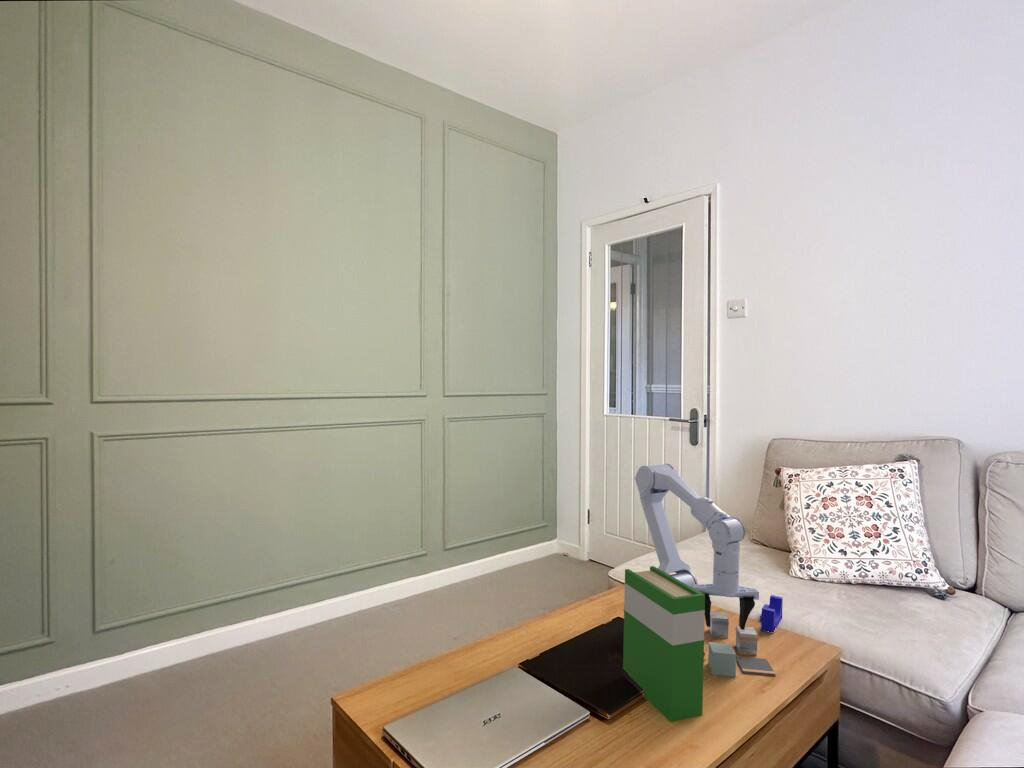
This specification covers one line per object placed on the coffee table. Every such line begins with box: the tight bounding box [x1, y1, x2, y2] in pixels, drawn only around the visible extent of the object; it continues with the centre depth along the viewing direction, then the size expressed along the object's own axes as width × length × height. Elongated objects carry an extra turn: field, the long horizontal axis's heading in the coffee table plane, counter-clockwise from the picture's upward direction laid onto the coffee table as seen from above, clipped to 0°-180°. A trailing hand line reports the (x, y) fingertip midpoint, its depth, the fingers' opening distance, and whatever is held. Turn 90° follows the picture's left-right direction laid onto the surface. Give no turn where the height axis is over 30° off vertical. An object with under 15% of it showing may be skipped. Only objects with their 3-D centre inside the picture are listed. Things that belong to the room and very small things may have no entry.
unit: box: [707, 641, 737, 677], centre depth 130 cm, size 5×5×5 cm
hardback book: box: [622, 565, 706, 723], centre depth 119 cm, size 18×7×24 cm, turn 20°
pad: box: [736, 655, 776, 677], centre depth 132 cm, size 7×7×1 cm
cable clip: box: [760, 594, 784, 633], centre depth 156 cm, size 12×4×6 cm, turn 145°
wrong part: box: [708, 611, 730, 639], centre depth 148 cm, size 4×4×5 cm
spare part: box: [735, 625, 759, 655], centre depth 140 cm, size 4×4×5 cm
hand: (724, 626), depth 135 cm, fingers open, 7 cm apart
